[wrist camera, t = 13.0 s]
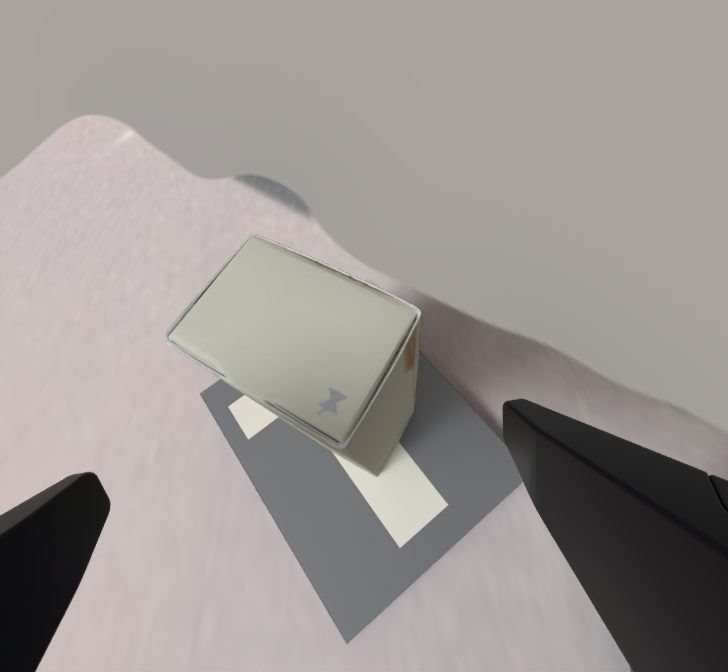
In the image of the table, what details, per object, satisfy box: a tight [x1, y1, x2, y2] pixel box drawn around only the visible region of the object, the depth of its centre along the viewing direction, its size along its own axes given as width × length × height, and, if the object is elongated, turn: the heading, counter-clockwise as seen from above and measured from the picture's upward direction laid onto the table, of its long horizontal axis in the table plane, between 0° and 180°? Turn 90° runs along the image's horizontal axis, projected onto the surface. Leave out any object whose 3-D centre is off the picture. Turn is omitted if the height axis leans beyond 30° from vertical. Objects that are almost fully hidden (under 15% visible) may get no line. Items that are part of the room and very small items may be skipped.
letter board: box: [200, 350, 523, 644], centre depth 21 cm, size 15×12×1 cm
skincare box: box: [165, 234, 422, 477], centre depth 16 cm, size 6×4×12 cm
